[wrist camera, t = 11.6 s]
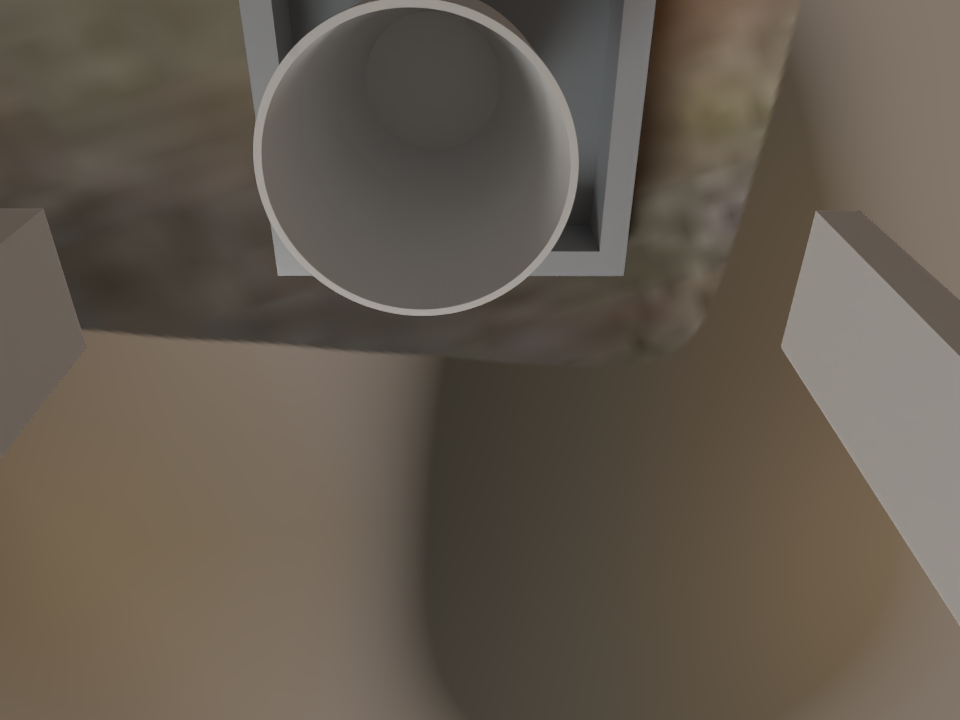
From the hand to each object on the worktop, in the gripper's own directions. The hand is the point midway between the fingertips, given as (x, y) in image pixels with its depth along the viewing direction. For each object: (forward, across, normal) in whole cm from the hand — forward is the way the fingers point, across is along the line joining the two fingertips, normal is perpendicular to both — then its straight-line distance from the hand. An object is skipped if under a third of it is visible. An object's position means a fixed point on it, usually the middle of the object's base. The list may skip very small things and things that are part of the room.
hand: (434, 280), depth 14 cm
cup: (+17, -1, 0) cm, 17 cm away
